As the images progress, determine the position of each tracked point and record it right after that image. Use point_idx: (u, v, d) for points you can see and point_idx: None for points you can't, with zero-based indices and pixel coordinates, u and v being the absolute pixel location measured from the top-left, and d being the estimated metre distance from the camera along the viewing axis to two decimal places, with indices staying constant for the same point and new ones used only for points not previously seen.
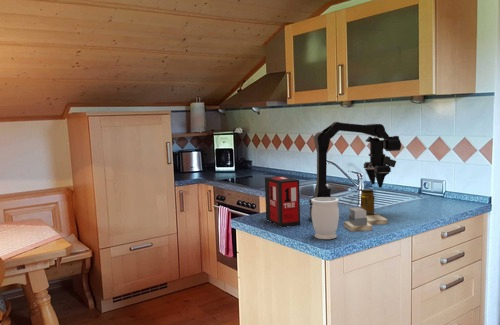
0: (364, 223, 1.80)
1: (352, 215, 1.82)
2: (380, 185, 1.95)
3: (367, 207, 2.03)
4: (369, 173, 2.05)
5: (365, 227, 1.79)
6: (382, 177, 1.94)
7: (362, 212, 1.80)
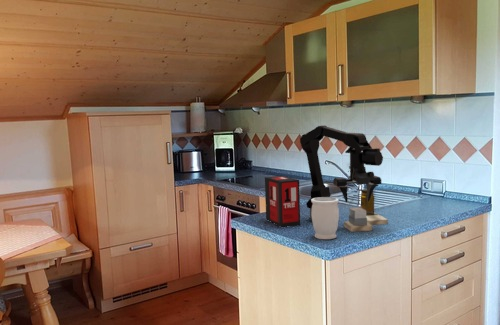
0: (364, 223, 1.80)
1: (352, 215, 1.82)
2: (345, 199, 1.82)
3: (367, 207, 2.03)
4: (367, 188, 1.84)
5: (365, 227, 1.79)
6: None
7: (362, 212, 1.80)
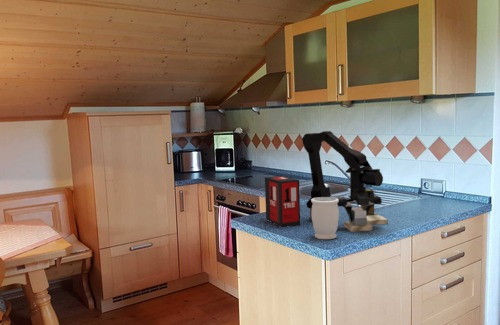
0: (364, 223, 1.80)
1: (352, 215, 1.82)
2: (350, 219, 1.83)
3: None
4: (363, 207, 1.85)
5: (365, 227, 1.79)
6: None
7: (362, 212, 1.80)
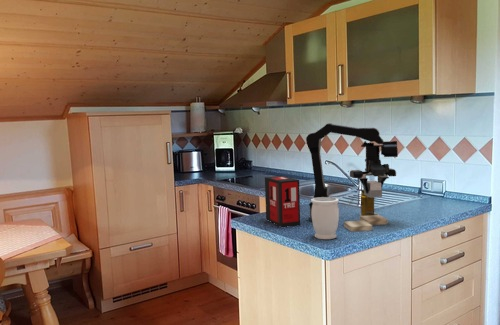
0: (379, 195, 1.87)
1: (367, 187, 1.90)
2: (365, 191, 1.91)
3: (367, 207, 2.03)
4: (378, 180, 1.92)
5: (365, 227, 1.79)
6: (364, 183, 1.90)
7: (377, 184, 1.87)
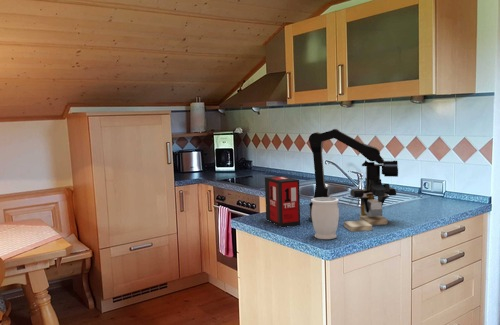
0: (380, 214, 1.89)
1: (368, 206, 1.91)
2: None
3: None
4: (378, 199, 1.94)
5: (365, 227, 1.79)
6: None
7: (378, 203, 1.88)
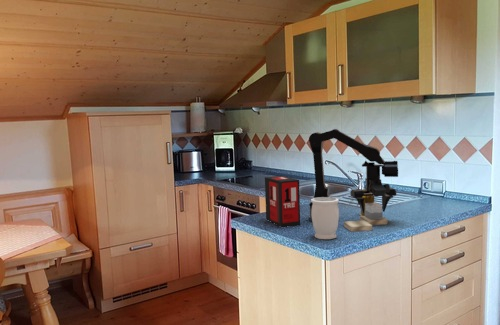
0: (380, 217, 1.89)
1: (368, 210, 1.91)
2: (362, 210, 1.92)
3: None
4: (382, 199, 1.94)
5: (365, 227, 1.79)
6: None
7: (378, 207, 1.89)
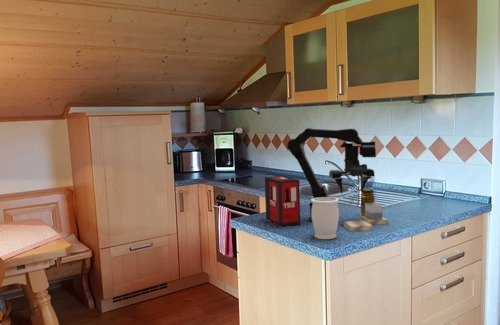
0: (380, 217, 1.89)
1: (368, 210, 1.91)
2: (340, 191, 1.93)
3: None
4: (361, 180, 1.96)
5: (365, 227, 1.79)
6: None
7: (378, 207, 1.89)
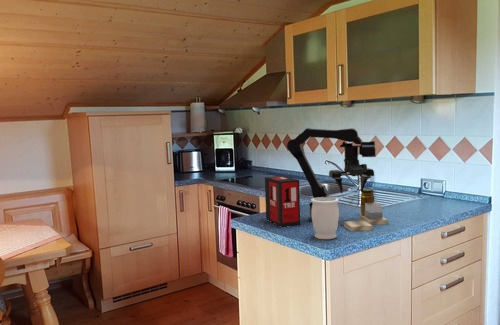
0: (380, 217, 1.89)
1: (368, 210, 1.91)
2: (340, 190, 1.93)
3: None
4: (361, 179, 1.96)
5: (365, 227, 1.79)
6: None
7: (378, 207, 1.89)
